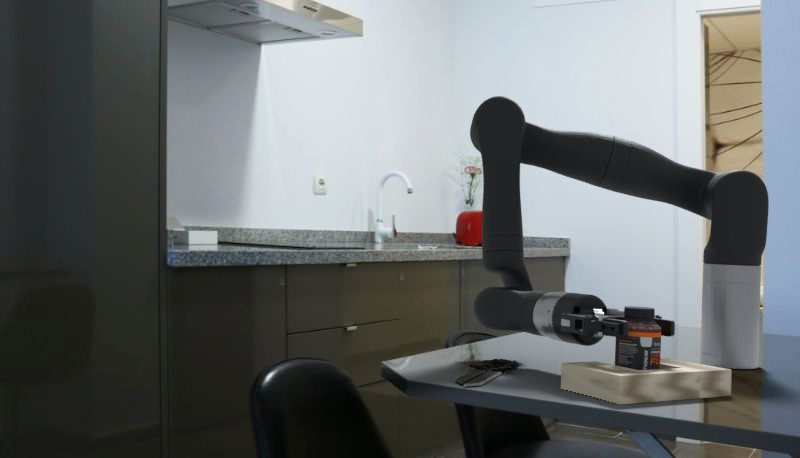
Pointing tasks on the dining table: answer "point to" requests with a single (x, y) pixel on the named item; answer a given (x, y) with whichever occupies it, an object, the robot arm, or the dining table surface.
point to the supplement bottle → (639, 340)
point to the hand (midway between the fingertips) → (650, 329)
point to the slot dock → (646, 381)
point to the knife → (486, 372)
